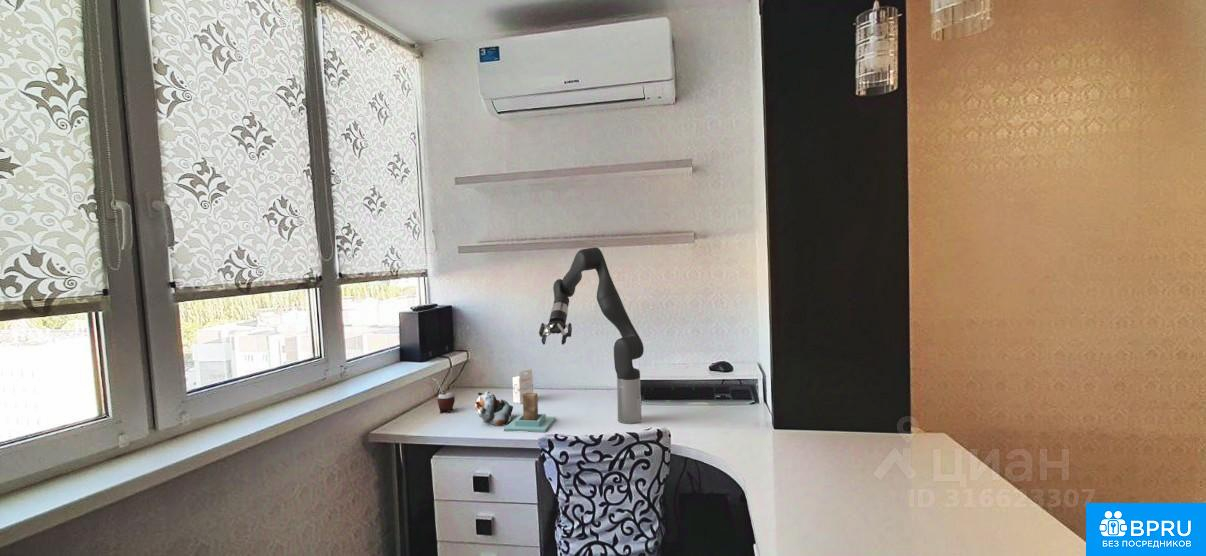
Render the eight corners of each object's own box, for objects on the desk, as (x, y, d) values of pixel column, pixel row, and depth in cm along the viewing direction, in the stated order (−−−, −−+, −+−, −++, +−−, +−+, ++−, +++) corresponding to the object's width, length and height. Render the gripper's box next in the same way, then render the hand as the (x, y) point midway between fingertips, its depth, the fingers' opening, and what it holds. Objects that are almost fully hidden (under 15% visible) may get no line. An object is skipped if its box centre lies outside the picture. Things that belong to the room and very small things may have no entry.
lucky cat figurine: (509, 426, 187) (491, 398, 184) (482, 437, 189) (464, 409, 186) (517, 405, 202) (500, 378, 198) (492, 415, 204) (475, 389, 200)
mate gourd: (457, 411, 210) (457, 377, 209) (441, 415, 204) (440, 380, 204) (449, 408, 215) (448, 374, 214) (432, 412, 209) (431, 377, 209)
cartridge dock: (555, 419, 195) (555, 411, 195) (544, 432, 180) (544, 424, 180) (517, 418, 198) (517, 410, 198) (503, 431, 182) (503, 423, 182)
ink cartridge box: (526, 398, 228) (525, 367, 228) (533, 399, 225) (532, 368, 225) (512, 402, 222) (511, 370, 221) (520, 404, 219) (519, 371, 218)
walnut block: (538, 420, 191) (537, 393, 191) (534, 424, 186) (534, 396, 186) (527, 420, 192) (526, 392, 191) (523, 423, 187) (522, 395, 187)
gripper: (542, 309, 219) (535, 338, 207) (572, 309, 216) (567, 338, 205) (545, 319, 224) (539, 348, 213) (575, 319, 222) (570, 348, 211)
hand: (553, 343), depth 209 cm, fingers open, 8 cm apart
